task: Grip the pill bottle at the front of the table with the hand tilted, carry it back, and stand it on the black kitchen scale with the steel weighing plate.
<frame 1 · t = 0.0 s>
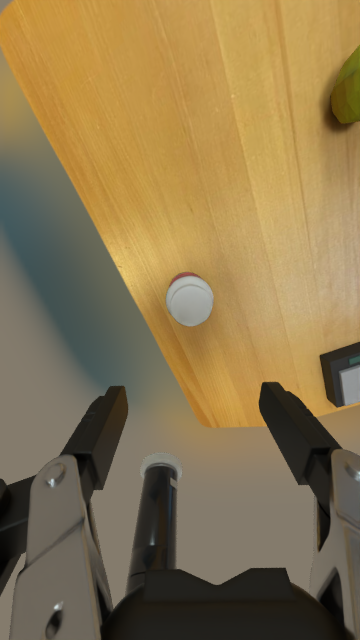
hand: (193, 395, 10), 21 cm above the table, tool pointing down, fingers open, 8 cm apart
scale: (353, 368, 34), on the table
fruit: (342, 104, 21), on the table
pill bottle: (186, 290, 29), on the table
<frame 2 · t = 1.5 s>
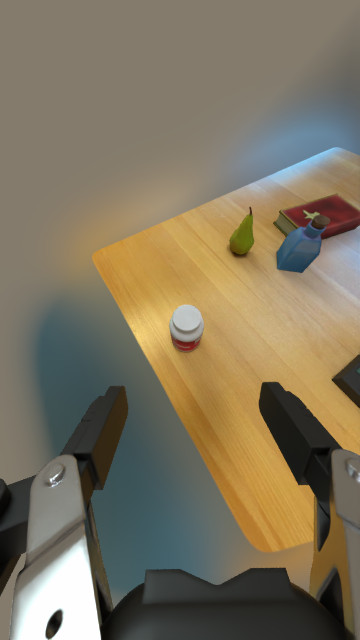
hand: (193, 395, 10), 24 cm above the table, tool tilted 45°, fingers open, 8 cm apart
perfume bottle: (288, 262, 46), on the table
fruit: (237, 251, 48), on the table
hardcover book: (313, 226, 52), on the table
pill bottle: (185, 339, 37), on the table
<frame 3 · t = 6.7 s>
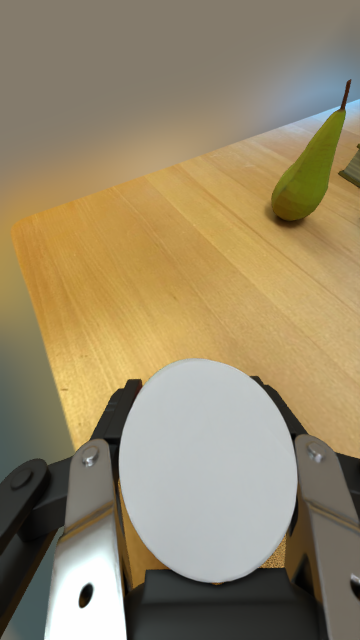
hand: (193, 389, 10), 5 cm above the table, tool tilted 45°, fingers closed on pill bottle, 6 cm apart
fruit: (284, 217, 26), on the table
pill bottle: (190, 414, 15), on the table, touching gripper
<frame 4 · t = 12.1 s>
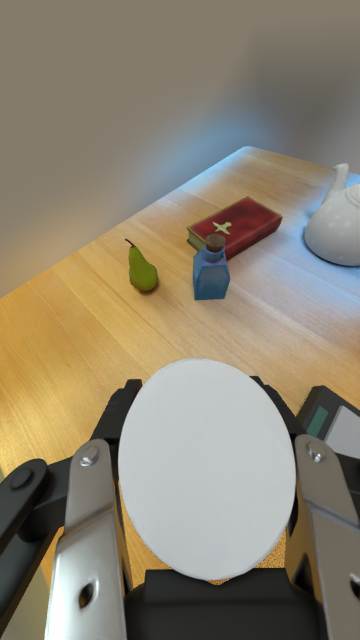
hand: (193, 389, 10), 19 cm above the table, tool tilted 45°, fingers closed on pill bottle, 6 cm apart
scale: (337, 451, 23), on the table
perfume bottle: (207, 288, 37), on the table
teapot: (337, 245, 41), on the table
fruit: (146, 285, 39), on the table
hardcover book: (231, 237, 45), on the table
pill bottle: (190, 413, 15), point 13 cm above the table, touching gripper
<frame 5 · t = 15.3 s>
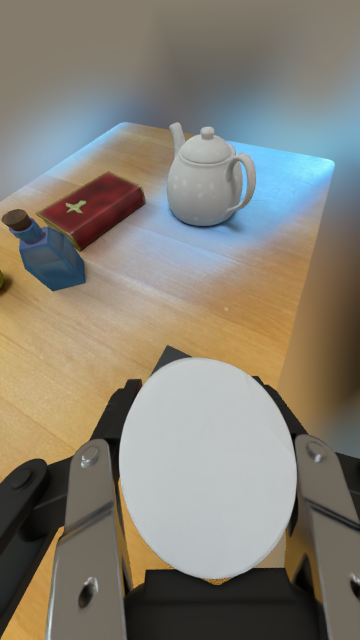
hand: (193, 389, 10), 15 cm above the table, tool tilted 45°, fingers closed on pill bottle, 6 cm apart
scale: (185, 405, 23), on the table
perfume bottle: (69, 275, 34), on the table
teapot: (202, 208, 42), on the table
hardcover book: (99, 217, 42), on the table
pill bottle: (190, 413, 15), point 10 cm above the table, touching gripper
when the fingers open (8 cm above the table, at t = 17.8 s): pill bottle stays where it is, resting on scale.
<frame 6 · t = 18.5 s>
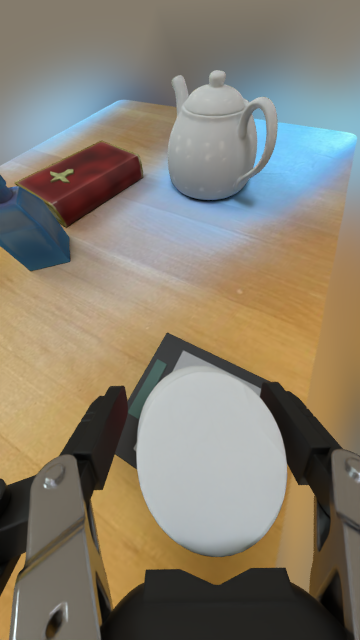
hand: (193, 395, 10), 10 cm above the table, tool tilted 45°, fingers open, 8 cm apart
scale: (190, 410, 18), on the table
perfume bottle: (51, 253, 29), on the table
teapot: (208, 182, 37), on the table
hardcover book: (91, 191, 36), on the table
pill bottle: (192, 415, 15), point 3 cm above the table, touching scale
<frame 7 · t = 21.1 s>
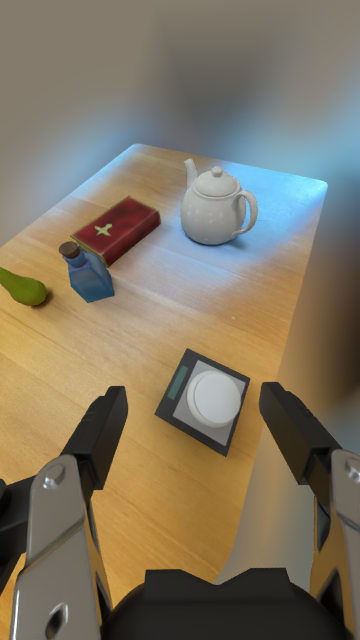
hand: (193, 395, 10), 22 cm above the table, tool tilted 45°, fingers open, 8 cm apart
scale: (202, 396, 30), on the table
perfume bottle: (99, 289, 40), on the table
teapot: (210, 228, 49), on the table
fruit: (40, 299, 39), on the table
hardcover book: (121, 236, 48), on the table
pill bottle: (204, 397, 27), point 3 cm above the table, touching scale
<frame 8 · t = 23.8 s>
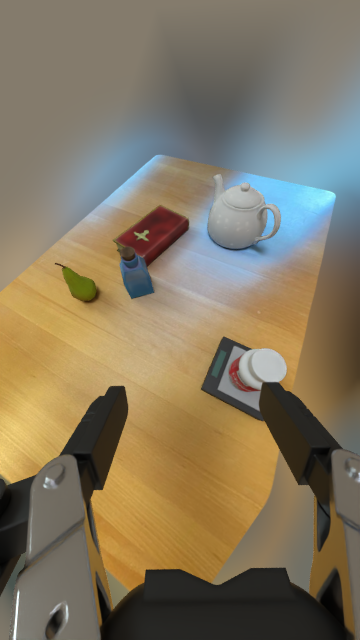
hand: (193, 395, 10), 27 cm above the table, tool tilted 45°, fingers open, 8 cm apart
scale: (237, 375, 36), on the table
perfume bottle: (140, 287, 46), on the table
teapot: (233, 234, 55), on the table
fruit: (89, 295, 45), on the table
hardcover book: (154, 240, 54), on the table
pill bottle: (242, 375, 33), point 3 cm above the table, touching scale
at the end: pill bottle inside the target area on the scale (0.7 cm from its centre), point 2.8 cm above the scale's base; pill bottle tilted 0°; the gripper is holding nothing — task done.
